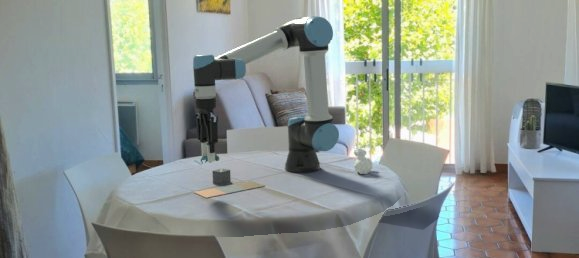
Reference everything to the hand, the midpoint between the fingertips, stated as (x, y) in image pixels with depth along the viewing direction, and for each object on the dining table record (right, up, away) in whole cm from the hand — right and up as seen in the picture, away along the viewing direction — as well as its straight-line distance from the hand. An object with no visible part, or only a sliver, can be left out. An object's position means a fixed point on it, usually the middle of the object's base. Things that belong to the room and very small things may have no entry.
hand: (208, 160), depth 209 cm
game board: (+7, -11, +7) cm, 15 cm away
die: (+3, -10, +18) cm, 21 cm away
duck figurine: (+61, -7, +29) cm, 68 cm away
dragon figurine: (0, -1, 0) cm, 1 cm away
